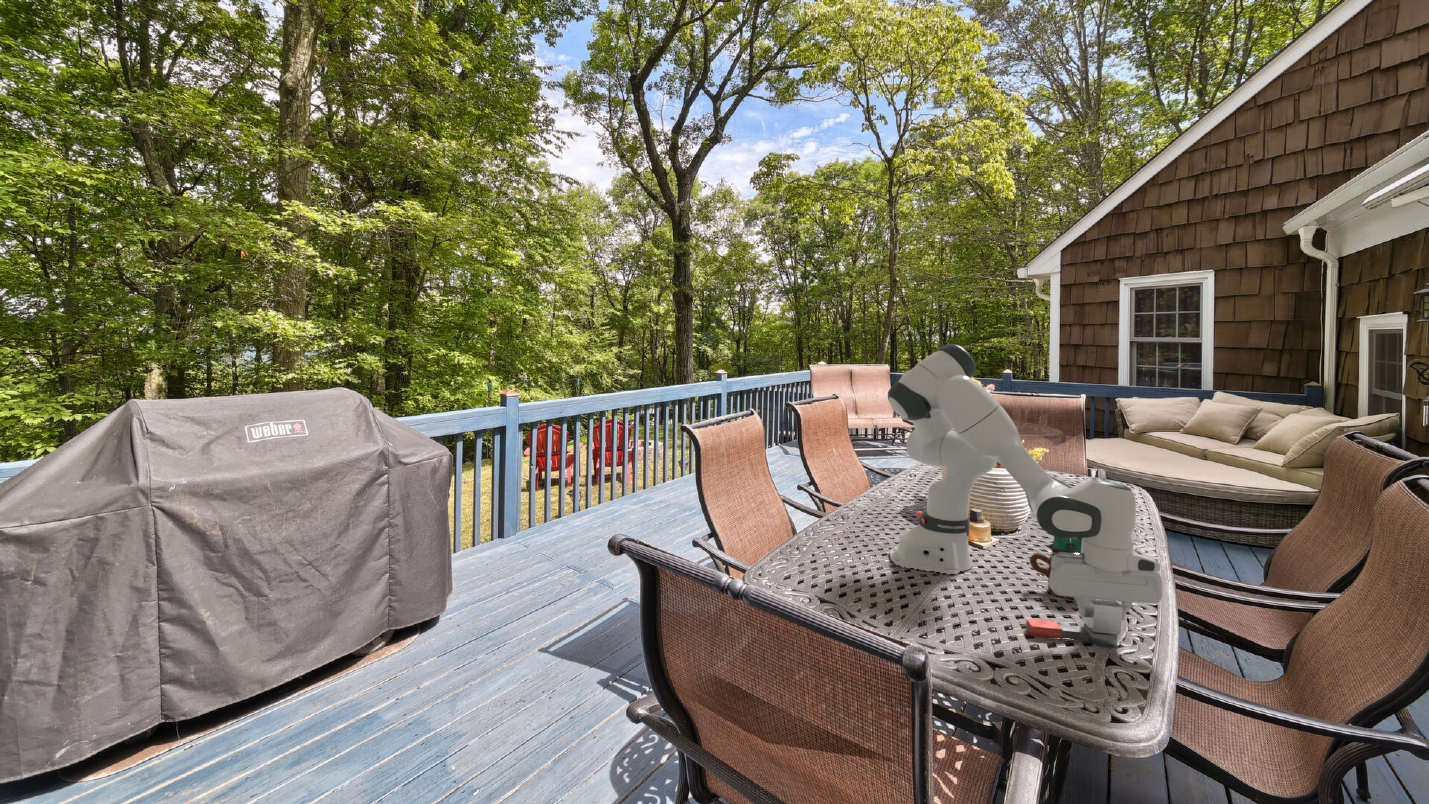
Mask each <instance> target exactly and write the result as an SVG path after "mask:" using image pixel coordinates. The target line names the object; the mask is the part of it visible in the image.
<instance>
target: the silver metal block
mask: <svg viewBox="0 0 1429 804" xmlns="http://www.w3.org/2000/svg"><path fill="white" fill-rule="evenodd" d="M1082 603H1083V605H1084V606H1086V607H1087V608H1088V609H1089V610H1090V614H1089V615H1090V616H1089V617H1081V621H1082V622H1083V623H1085V624H1086V625H1087V626H1088V627H1089V628H1090V630H1091V631H1092V632H1099V633H1110V634H1118V635H1121V632H1122V621H1123V620H1122V609H1123V607H1122V606H1121V603H1120V604H1119V602H1118V601H1115V600H1104V599H1092V598H1085V602H1082Z"/></svg>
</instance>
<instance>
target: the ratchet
mask: <svg viewBox="0 0 1429 804" xmlns="http://www.w3.org/2000/svg"><path fill="white" fill-rule="evenodd" d="M1083 623H1084V622H1083ZM1026 629H1027V630H1028V631H1027V630H1026ZM1025 630H1026V631H1027V633H1028V632H1029V633H1030V634H1029V633H1028V634H1029V636H1030V635H1031V636H1036V637H1035V638H1038V637H1043V638H1042V639H1048V638H1060V639H1062V638H1070V639H1074V640H1078V641H1077V642H1086V643H1090V644H1093V645H1095V646H1097V647H1102V648H1108V649H1109V648H1110V649H1112V648H1115V647H1117V645H1118V636H1119V634H1110V633H1099V632H1092V631H1091V630H1090V628H1089V627H1088V626H1087V625H1086V624H1085V623H1084V624H1083V626H1082V625H1071V624H1062V623H1061V624H1060V623H1058V622H1057V621H1054V620H1045V619H1044V620H1043V619H1033V618H1026V619H1025ZM1031 636H1030V637H1031ZM1062 640H1063V639H1062ZM1074 640H1073V641H1074Z"/></svg>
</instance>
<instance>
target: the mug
mask: <svg viewBox="0 0 1429 804" xmlns="http://www.w3.org/2000/svg"><path fill="white" fill-rule="evenodd" d="M1056 554H1059V553H1053V554H1052V553H1051V554H1050V557H1049V556H1047V555H1045V554H1044V553H1034V554H1032V555H1031V556H1030V559H1029V563H1030V566H1031V568H1032V569H1033V570H1034V571H1036V572H1037V573H1040V574H1043V576H1045V577H1047V580H1048V582H1047V584H1048V585H1047V588H1048V591H1049V592H1050V593H1051V594H1053V595H1054V594H1055V593H1054V592H1053V591H1052V589H1051V588H1050V587H1049V578H1050V573H1051V569H1052V568H1051V558H1052V557H1053V556H1054V555H1056ZM1059 557H1060V556H1059ZM1037 560H1041V561H1042V562H1044V563H1045V564H1048V568H1046V567H1045V566H1041V565H1040V564H1038V562H1037ZM1056 595H1057V594H1055V596H1056ZM1057 597H1059V595H1057ZM1062 597H1066V598H1065V599H1067V598H1072V599H1071V600H1075V599H1074V597H1070V596H1060V597H1059V598H1062Z"/></svg>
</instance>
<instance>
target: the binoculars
mask: <svg viewBox="0 0 1429 804" xmlns="http://www.w3.org/2000/svg"><path fill="white" fill-rule="evenodd" d="M1081 546H1082V538H1058V537H1055V536H1053V543H1051V544H1049V545H1048V549H1050V550H1051V554H1053V553H1059V552H1066V553H1081Z"/></svg>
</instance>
